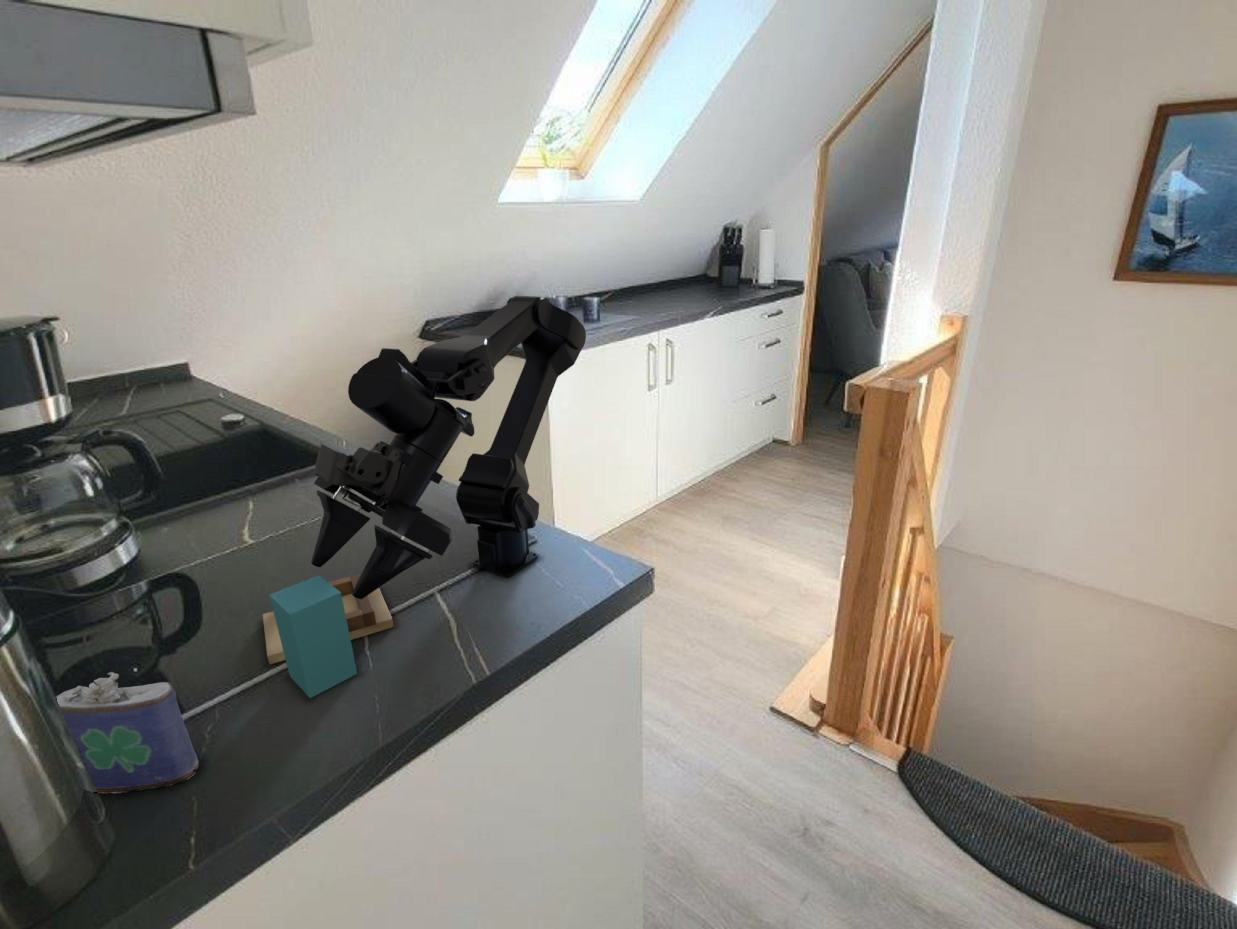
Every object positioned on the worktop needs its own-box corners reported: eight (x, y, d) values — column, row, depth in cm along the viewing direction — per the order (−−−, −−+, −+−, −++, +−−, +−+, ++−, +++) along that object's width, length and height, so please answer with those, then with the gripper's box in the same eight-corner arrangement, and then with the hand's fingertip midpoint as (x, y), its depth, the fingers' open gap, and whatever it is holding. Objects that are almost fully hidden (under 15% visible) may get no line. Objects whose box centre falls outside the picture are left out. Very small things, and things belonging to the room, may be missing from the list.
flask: (205, 760, 58) (171, 661, 54) (188, 787, 55) (151, 686, 51) (95, 769, 57) (53, 670, 53) (72, 797, 54) (26, 695, 50)
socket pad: (378, 590, 83) (374, 569, 82) (394, 628, 75) (390, 606, 74) (264, 621, 77) (258, 600, 76) (269, 666, 69) (263, 643, 68)
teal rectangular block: (336, 653, 71) (319, 574, 68) (357, 673, 68) (341, 592, 64) (289, 676, 68) (268, 594, 64) (309, 698, 65) (289, 614, 61)
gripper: (316, 395, 70) (228, 522, 66) (408, 431, 58) (306, 588, 54) (394, 445, 78) (319, 561, 74) (488, 485, 66) (405, 625, 63)
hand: (335, 580), depth 66 cm, fingers open, 9 cm apart
